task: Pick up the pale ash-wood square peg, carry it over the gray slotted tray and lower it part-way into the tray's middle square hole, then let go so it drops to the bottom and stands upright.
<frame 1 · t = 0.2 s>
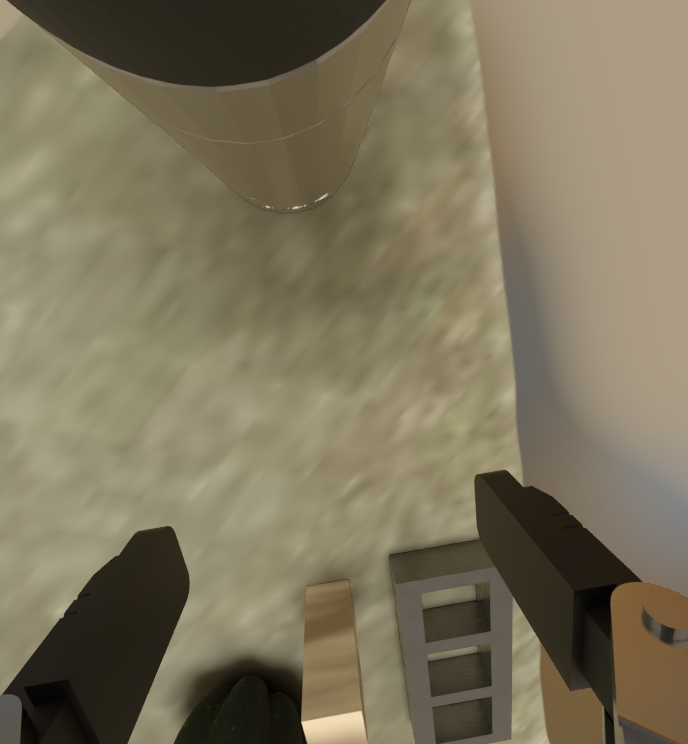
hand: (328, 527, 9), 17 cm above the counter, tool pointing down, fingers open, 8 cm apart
square peg: (330, 598, 33), on the counter
gray slotted tray: (448, 638, 36), on the counter
squash: (256, 703, 37), on the counter
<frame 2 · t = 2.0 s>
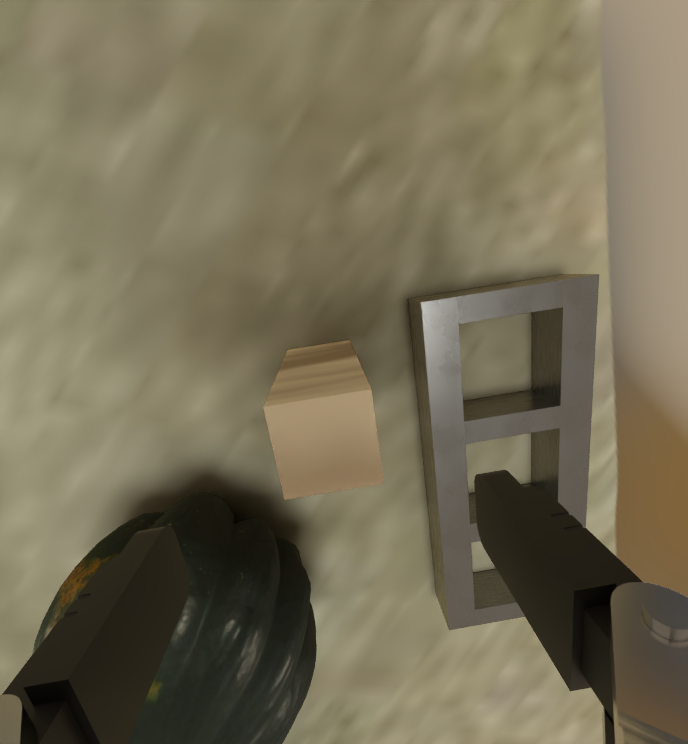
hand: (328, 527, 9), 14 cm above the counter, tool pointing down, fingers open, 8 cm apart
square peg: (323, 374, 23), on the counter
gray slotted tray: (491, 454, 25), on the counter
squash: (221, 556, 27), on the counter
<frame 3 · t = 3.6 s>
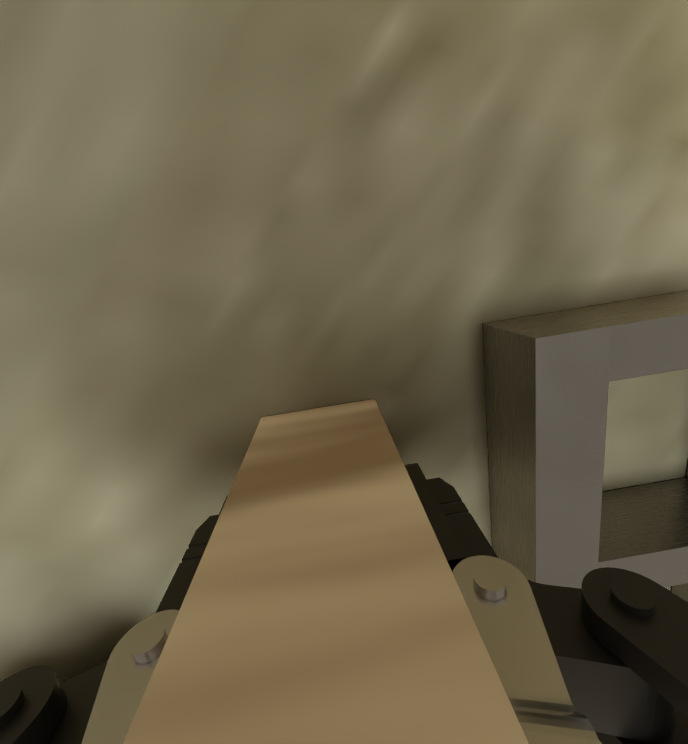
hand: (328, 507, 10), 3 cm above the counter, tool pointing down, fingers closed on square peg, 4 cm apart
square peg: (327, 458, 13), on the counter, touching gripper
gray slotted tray: (607, 579, 15), on the counter
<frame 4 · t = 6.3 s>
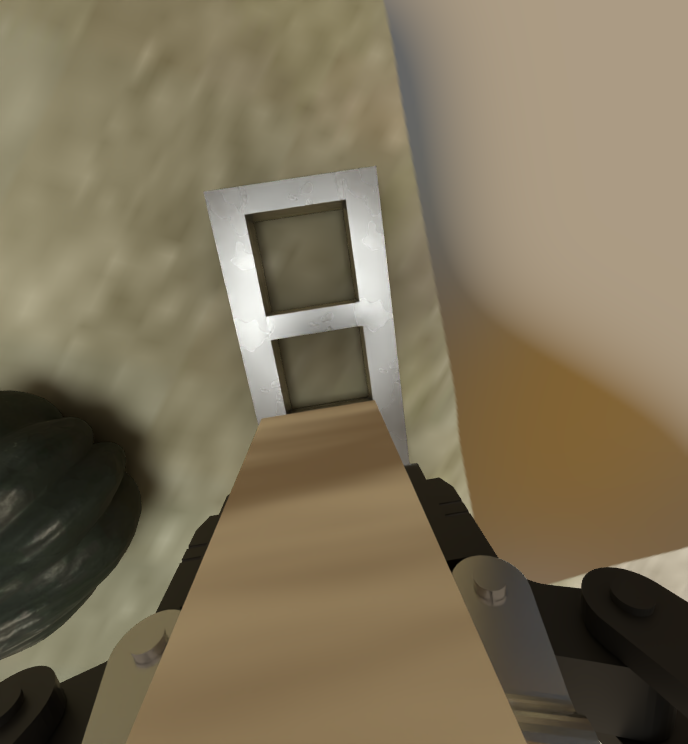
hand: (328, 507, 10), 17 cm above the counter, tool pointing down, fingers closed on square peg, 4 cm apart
square peg: (327, 459, 13), point 14 cm above the counter, touching gripper
gray slotted tray: (324, 366, 26), on the counter
squash: (68, 469, 27), on the counter
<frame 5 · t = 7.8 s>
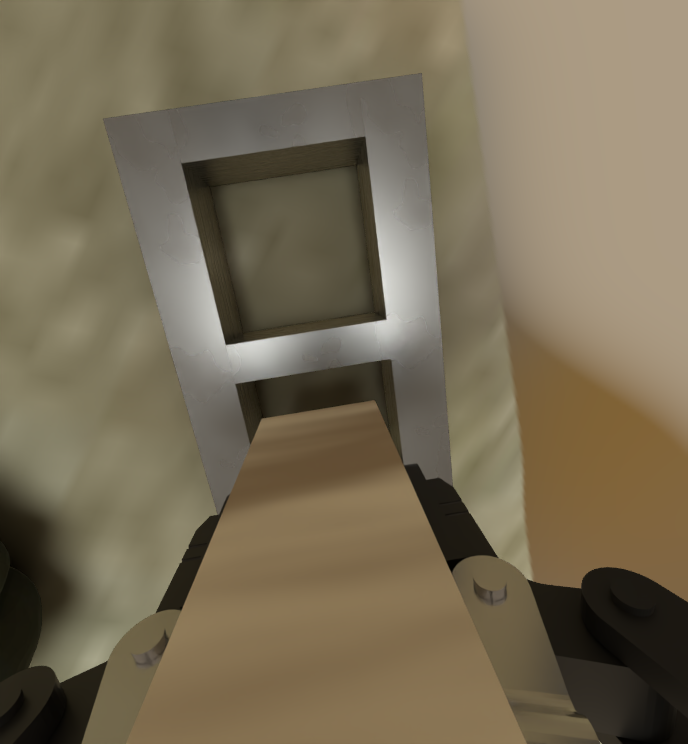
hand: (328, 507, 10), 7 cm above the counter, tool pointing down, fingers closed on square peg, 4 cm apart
square peg: (327, 459, 13), point 4 cm above the counter, touching gripper
gray slotted tray: (325, 414, 17), on the counter
when the fingers open (4 cm above the counter, at t = 9.0 s): square peg drops 1 cm, resting in gray slotted tray.
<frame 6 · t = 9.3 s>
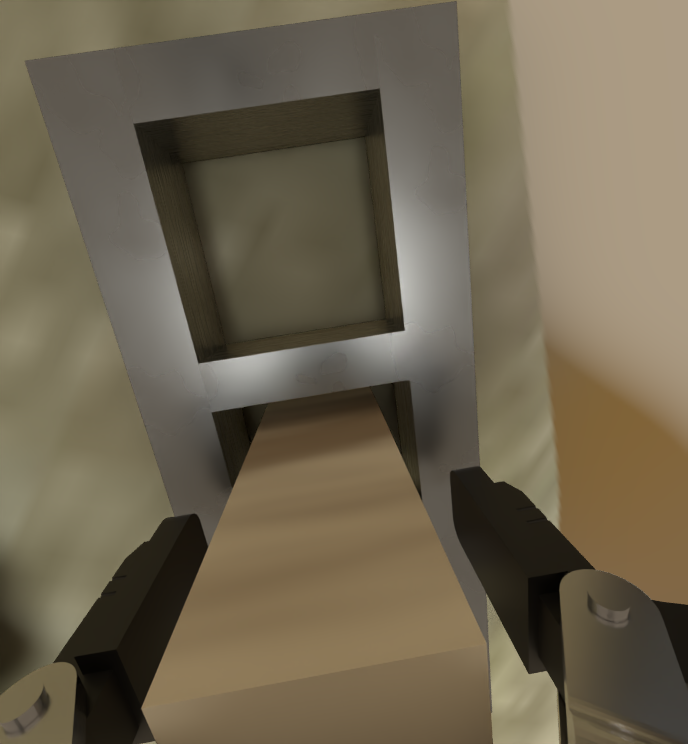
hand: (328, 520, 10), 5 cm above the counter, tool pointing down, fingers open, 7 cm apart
square peg: (327, 440, 14), resting in gray slotted tray
gray slotted tray: (326, 440, 14), on the counter
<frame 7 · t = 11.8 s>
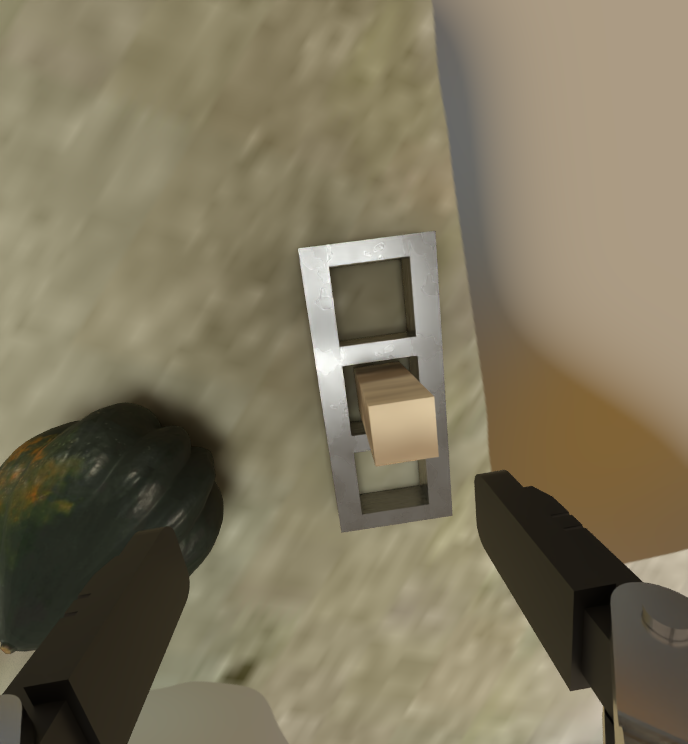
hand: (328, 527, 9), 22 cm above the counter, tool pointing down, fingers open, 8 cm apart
square peg: (378, 386, 31), resting in gray slotted tray
gray slotted tray: (377, 386, 31), on the counter
squash: (156, 469, 32), on the counter
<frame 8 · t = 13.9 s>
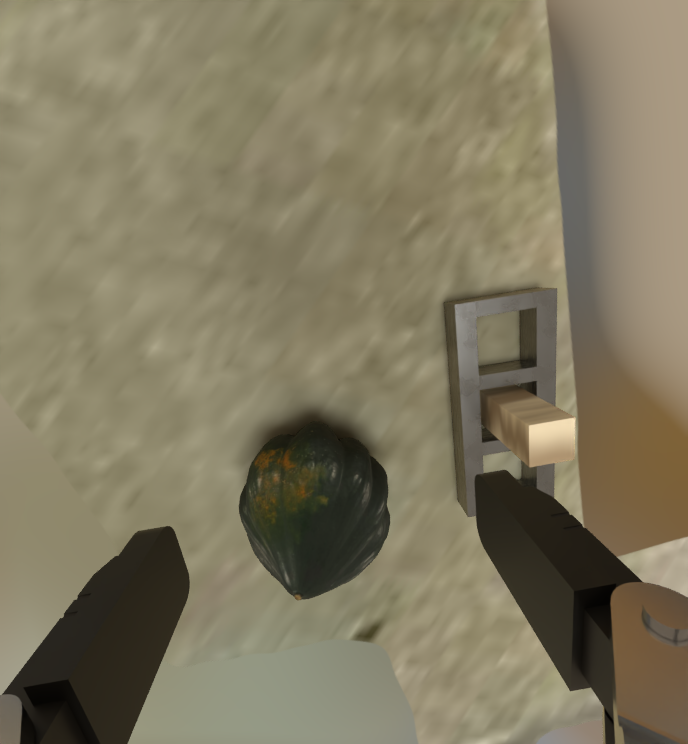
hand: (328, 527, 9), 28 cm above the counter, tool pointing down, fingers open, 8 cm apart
square peg: (495, 402, 39), resting in gray slotted tray
gray slotted tray: (495, 402, 39), on the counter
squash: (318, 471, 40), on the counter
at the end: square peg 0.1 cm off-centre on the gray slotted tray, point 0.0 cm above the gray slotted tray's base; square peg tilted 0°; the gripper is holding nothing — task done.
